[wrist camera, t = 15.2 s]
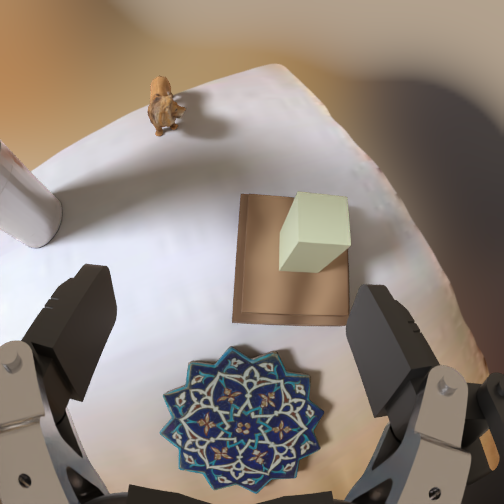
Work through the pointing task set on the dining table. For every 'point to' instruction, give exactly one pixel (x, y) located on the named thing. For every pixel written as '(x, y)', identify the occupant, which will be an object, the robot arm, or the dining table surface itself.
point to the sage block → (314, 232)
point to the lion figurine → (163, 106)
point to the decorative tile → (242, 420)
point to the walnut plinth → (282, 274)
